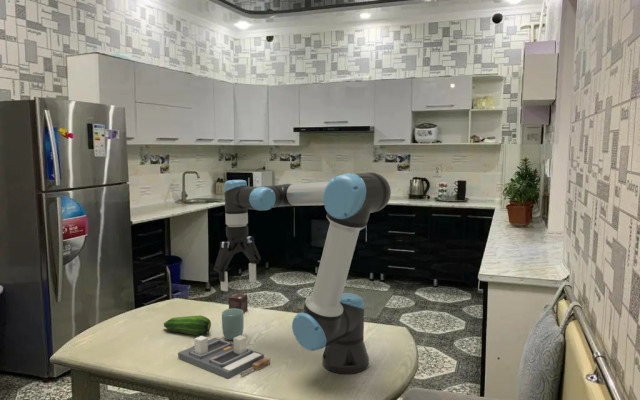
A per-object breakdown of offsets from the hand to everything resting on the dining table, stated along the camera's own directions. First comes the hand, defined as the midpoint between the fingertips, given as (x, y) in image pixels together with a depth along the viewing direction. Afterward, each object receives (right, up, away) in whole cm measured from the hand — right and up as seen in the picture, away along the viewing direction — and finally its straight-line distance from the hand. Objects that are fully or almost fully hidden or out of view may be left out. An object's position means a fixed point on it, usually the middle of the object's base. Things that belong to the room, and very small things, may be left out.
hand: (239, 286), depth 168 cm
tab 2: (+2, -21, -7) cm, 22 cm away
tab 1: (-11, -21, -7) cm, 25 cm away
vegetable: (-23, -21, +16) cm, 35 cm away
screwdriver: (+7, -24, -15) cm, 29 cm away
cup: (-4, -21, +11) cm, 24 cm away
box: (-7, -18, +39) cm, 44 cm away
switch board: (-5, -23, -7) cm, 25 cm away
